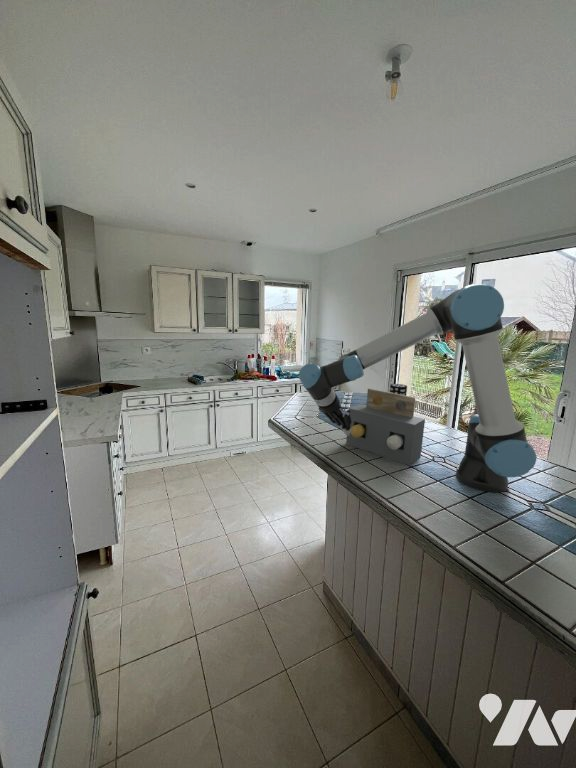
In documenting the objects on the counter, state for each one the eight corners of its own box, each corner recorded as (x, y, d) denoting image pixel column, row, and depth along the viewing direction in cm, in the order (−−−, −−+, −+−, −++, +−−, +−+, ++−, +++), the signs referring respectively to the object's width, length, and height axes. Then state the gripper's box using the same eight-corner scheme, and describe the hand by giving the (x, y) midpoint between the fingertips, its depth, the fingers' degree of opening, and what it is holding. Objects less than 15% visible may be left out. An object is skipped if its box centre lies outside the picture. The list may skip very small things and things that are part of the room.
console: (409, 465, 116) (414, 424, 113) (346, 443, 135) (348, 408, 132) (420, 457, 123) (425, 419, 120) (358, 438, 142) (361, 404, 139)
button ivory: (398, 451, 115) (400, 438, 114) (386, 447, 118) (387, 434, 117) (402, 448, 118) (404, 436, 117) (390, 444, 121) (391, 432, 120)
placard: (411, 418, 120) (414, 398, 119) (365, 407, 134) (367, 388, 132) (413, 417, 121) (415, 397, 120) (367, 406, 135) (368, 388, 133)
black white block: (404, 421, 167) (408, 385, 163) (401, 426, 160) (405, 387, 156) (389, 418, 171) (392, 383, 167) (384, 422, 164) (388, 385, 160)
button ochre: (360, 439, 126) (361, 427, 125) (350, 435, 129) (350, 424, 128) (365, 437, 128) (366, 425, 127) (354, 433, 132) (355, 422, 131)
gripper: (306, 403, 111) (330, 435, 127) (336, 411, 103) (359, 445, 118) (316, 386, 114) (339, 420, 129) (346, 393, 105) (367, 428, 121)
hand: (348, 432), depth 124 cm, fingers closed
